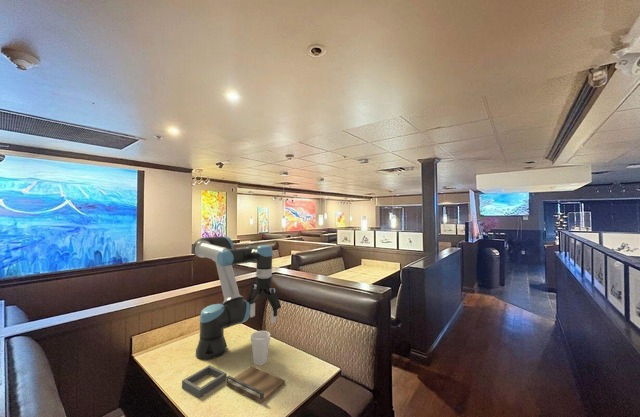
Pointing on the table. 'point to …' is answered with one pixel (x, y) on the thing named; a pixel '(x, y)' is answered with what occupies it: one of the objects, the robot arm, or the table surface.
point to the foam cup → (260, 346)
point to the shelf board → (255, 384)
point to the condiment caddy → (200, 392)
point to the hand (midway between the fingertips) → (262, 319)
